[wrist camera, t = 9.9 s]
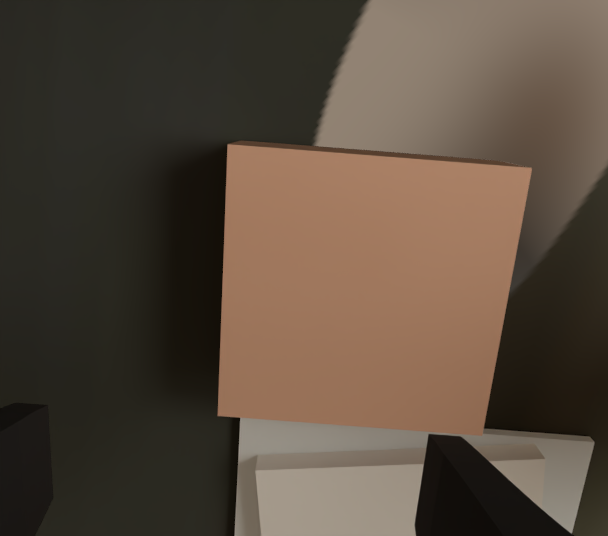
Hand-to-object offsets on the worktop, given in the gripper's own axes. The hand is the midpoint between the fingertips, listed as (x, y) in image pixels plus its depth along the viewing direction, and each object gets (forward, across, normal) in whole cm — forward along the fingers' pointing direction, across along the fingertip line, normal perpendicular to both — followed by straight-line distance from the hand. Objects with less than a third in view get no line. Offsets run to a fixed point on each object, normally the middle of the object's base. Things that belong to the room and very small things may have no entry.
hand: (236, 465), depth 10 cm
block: (+10, -3, -1) cm, 11 cm away
